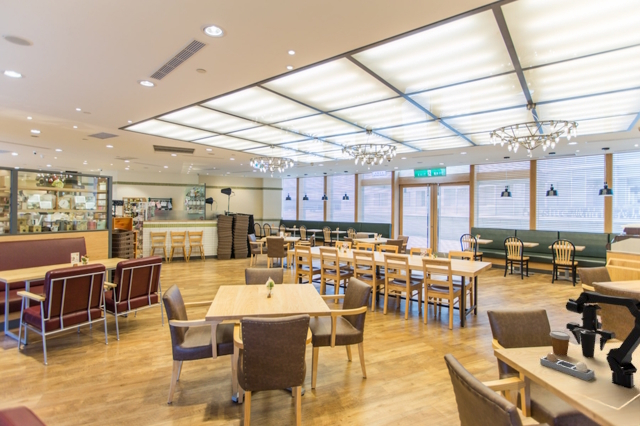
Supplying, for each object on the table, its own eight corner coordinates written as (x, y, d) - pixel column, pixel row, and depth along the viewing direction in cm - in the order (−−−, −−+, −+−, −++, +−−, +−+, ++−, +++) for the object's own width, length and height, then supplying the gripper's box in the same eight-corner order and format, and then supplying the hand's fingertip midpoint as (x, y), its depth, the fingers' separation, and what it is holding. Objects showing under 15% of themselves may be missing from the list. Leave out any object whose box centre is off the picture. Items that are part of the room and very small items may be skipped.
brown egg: (558, 365, 169) (558, 353, 169) (554, 367, 167) (554, 355, 167) (549, 362, 173) (549, 350, 173) (545, 364, 171) (545, 352, 171)
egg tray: (594, 378, 157) (594, 370, 157) (587, 381, 153) (587, 374, 153) (547, 362, 175) (547, 355, 175) (540, 365, 171) (540, 358, 171)
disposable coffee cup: (570, 359, 178) (570, 337, 179) (549, 355, 184) (549, 333, 184) (570, 353, 186) (570, 332, 186) (550, 349, 192) (549, 329, 192)
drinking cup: (583, 358, 180) (582, 321, 180) (576, 352, 187) (576, 317, 188) (599, 359, 178) (599, 323, 178) (592, 354, 185) (592, 319, 186)
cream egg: (589, 376, 158) (588, 363, 158) (585, 378, 156) (584, 365, 156) (578, 372, 161) (578, 360, 161) (574, 374, 159) (574, 361, 159)
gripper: (619, 318, 161) (620, 350, 161) (575, 309, 177) (576, 338, 177) (610, 322, 155) (610, 355, 155) (565, 312, 172) (565, 342, 171)
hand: (590, 347), depth 165 cm, fingers open, 9 cm apart
